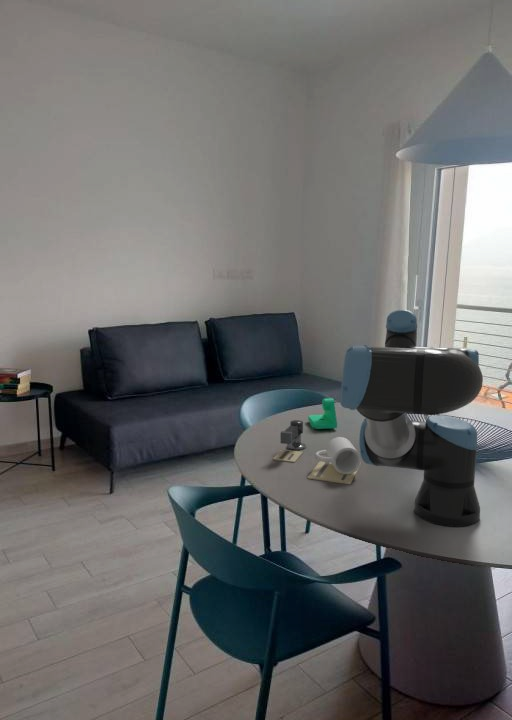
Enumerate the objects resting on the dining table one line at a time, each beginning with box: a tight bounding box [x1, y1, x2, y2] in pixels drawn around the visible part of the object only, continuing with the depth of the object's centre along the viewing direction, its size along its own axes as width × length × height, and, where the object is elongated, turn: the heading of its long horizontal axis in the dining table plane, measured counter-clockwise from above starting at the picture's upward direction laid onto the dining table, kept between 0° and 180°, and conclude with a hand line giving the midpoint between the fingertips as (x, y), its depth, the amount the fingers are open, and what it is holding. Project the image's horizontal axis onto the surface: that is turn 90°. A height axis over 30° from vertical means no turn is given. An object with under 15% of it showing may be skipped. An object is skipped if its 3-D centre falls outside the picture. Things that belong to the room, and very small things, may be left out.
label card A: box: [272, 449, 304, 464], centre depth 181 cm, size 9×7×1 cm
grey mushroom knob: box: [286, 434, 307, 451], centre depth 189 cm, size 6×6×5 cm
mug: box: [314, 436, 362, 475], centre depth 169 cm, size 12×10×8 cm
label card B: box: [307, 461, 362, 485], centre depth 169 cm, size 16×12×1 cm
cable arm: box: [280, 419, 304, 445], centre depth 184 cm, size 14×4×4 cm, turn 159°
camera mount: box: [307, 397, 338, 430], centre depth 211 cm, size 12×8×10 cm, turn 9°
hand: (402, 412), depth 171 cm, fingers open, 13 cm apart
